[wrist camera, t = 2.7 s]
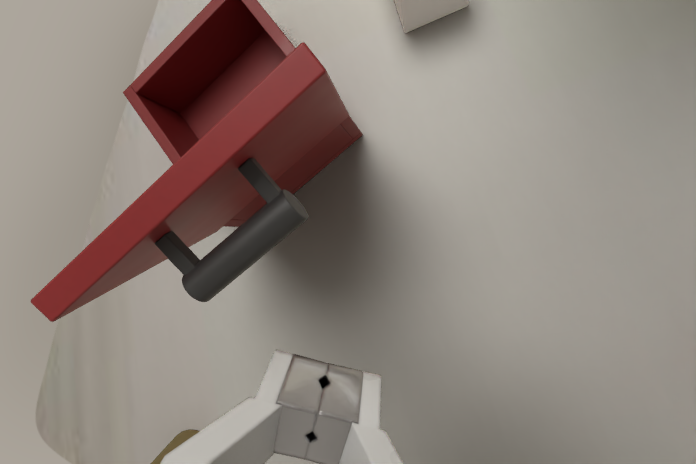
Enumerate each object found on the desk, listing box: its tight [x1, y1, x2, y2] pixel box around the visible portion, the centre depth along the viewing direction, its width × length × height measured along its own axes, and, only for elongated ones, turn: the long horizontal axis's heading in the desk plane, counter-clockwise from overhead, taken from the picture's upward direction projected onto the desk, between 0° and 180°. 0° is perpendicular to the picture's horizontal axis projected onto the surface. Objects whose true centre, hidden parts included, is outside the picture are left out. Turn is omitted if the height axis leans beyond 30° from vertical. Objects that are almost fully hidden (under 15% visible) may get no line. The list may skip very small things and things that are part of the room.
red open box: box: [123, 0, 363, 227], centre depth 34 cm, size 16×14×7 cm
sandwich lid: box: [31, 43, 349, 321], centre depth 21 cm, size 16×14×5 cm
